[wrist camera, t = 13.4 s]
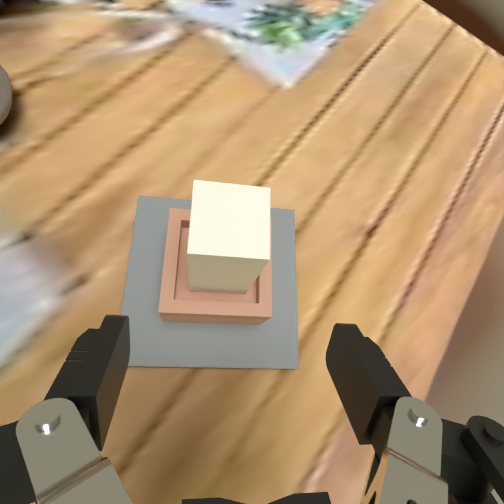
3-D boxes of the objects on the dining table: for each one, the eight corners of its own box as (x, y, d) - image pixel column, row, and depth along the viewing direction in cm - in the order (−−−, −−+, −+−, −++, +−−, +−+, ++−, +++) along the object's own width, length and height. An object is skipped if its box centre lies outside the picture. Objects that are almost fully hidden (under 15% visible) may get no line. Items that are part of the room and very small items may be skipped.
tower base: (116, 365, 28) (94, 365, 22) (140, 201, 33) (128, 163, 27) (294, 368, 31) (321, 369, 24) (291, 214, 36) (311, 183, 30)
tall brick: (189, 291, 26) (187, 253, 17) (193, 239, 28) (193, 179, 19) (244, 294, 27) (270, 259, 18) (246, 243, 28) (270, 187, 19)
